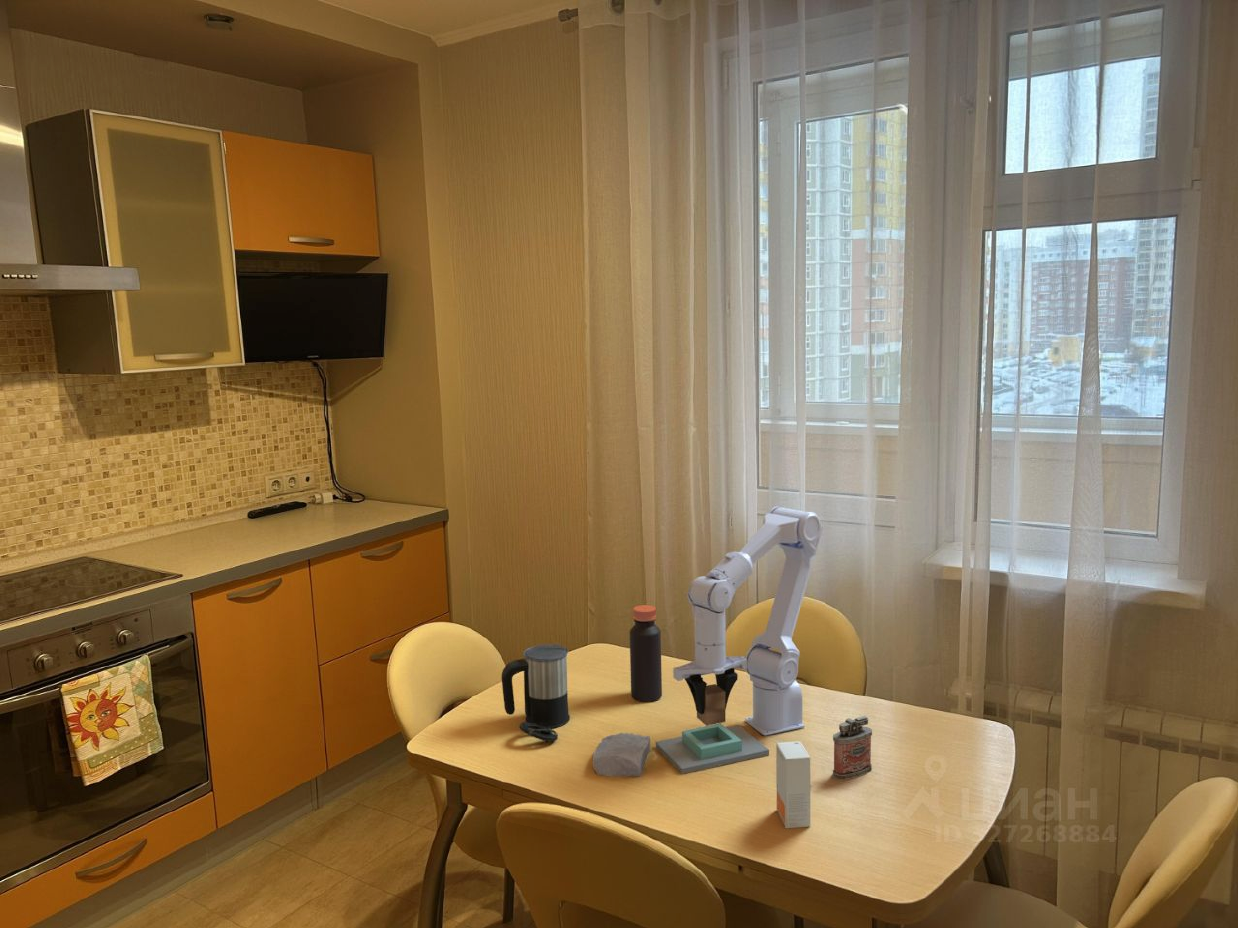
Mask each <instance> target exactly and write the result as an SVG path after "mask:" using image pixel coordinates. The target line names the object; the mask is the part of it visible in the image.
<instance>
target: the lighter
mask: <svg viewBox="0 0 1238 928" xmlns="http://www.w3.org/2000/svg"><path fill="white" fill-rule="evenodd" d="M868 724H869V718H868V717H867V716H866V715H863V716H860V717H856V718H854V719H853V718H849V717H848V718H846V720H845V721H844V722H841V723H839V724H838V725H839V727H838V730H839V732H836V733H834V734H833V736H832V740H833V769H832V776H833V778H834V779H837V780H839V781H840V780H841V781H844V780H850V779H854V778H857V777H862V776H864V775H865V774H868V773H870V772H872V766H873V765H872V763H871V757H872V753H871V752H872V736H873V729H872V728H871V727H869V726H866V725H868Z"/></svg>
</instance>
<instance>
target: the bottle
mask: <svg viewBox="0 0 1238 928" xmlns="http://www.w3.org/2000/svg"><path fill="white" fill-rule="evenodd" d="M632 610H633V611H632V612H633V614H632V615H633V622H634V625H633V626H632V627H631V628H630V629H629V657H630V659H629V661H630V664H629V666H630V696H631V698H632V699H633V700H635V701H637V702H641V703H651V702H656V701H658V700H660V699H661V697H662V695H663V681H662V679H663V678H662V675H663V674H662V633H661V629H660V627H659V626H657V625H656V621H657V608H656V606H653V605H649V604H643V605H636V606H634V607H633V608H632Z"/></svg>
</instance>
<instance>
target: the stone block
mask: <svg viewBox="0 0 1238 928" xmlns="http://www.w3.org/2000/svg"><path fill="white" fill-rule="evenodd" d="M650 750H651V737H650V736H649V735H646V736H645V735H641V734H635V733H627V732H624V733H623V732H621V733H620V732H619V733H616V734H610V735H608V736H604V738H602V739H601V742H599V743H598V745H597V746H596V749H595V750H594V752H593V755H592V766H593V768H594V772H596V774H597V775H600V776H605V777H624V778H625V777H627V778H629V777H633V778H640V777H641V776H642V774H643V771H644V768H645V766H646V762H647V760H648V756H649V754H650Z"/></svg>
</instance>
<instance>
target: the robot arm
mask: <svg viewBox="0 0 1238 928" xmlns="http://www.w3.org/2000/svg"><path fill="white" fill-rule="evenodd" d="M762 523H763V524H762V526H761V527H760V528H758V530H757V531H756V533H755V534H754V535H753V536H752V537H751V538H750V540H749V541H748V542H747V543H746V544H744V546H743V547H742V548H741V549H740V551H730V552H727V553H726V554H725V555H724V558H723V559H721V561H720V562H719V563H718V564H717V565H715V566H714V567H713V568H712V569H711V570H710V571H708V573H707V574H706V575H703V576H698V577H697V578H695V579H693V580H692V582H691V583H690V586H689V588H688V592H687V593H686V597H687V599H688V603H689V604H690V605H691V613H692V614H693V615H694V660H693V661H691V662H688V663H685V664H683V665H680V666H676V667H673V668H672V670H673V671H672V672H673V674H672V675H673V678H674V680H676V681H677V682H679V681H683V679H684V680H685V683H686V684H687V686H688V689H689V690H690V693H691V695H692V699H693V702H694V705H695V711H696V713H697V712H699V713H700V714H704V709H705V701H704V698H705V690H706V686H707V685H708V683H707V682H705V681H704V678H703V677H702V676H705V675H710V674H711V675H712V674H713V675H714V676H715V684H716V685H717V686H719V687H720V688H721V689H723V690H724V691H725V711H726V709H727V705H728V701H729V697H730V694H731V692H732V689H733V687H734V685H735V684H736V682H737V681H738V677H739V675H738V673H737V672H736V671H735V670H739V669H741V670H745V672H746V673H747V674H748V676H749V681H751V682H752V716H749V717H745V718H744V721H745V722H746V723H747V724H748V725H750V726H751V727H752V728H753V729H755V730H756V731H757V732H759V733H760V734H761V735H762V736H770V735H774V734H779V733H783V732H787V731H793V730H797V729H802V728H804V727H805V724H804V723H803V692H802V688H801V686H800V683H798V681H797V680H796V679H797V677H798V674H799V659H800V656H801V653H800V649H798V647H797V646H796V645H795V643H794V642H793V639H792V638H793V635H794V633H795V632H794V631H795V628H796V626H797V625H796V624H797V621H798V618H799V614H800V609H801V606H802V604H803V600H804V596H805V594H806V593H805V592H806V589H807V585H808V582H809V579H810V575H811V572H812V569H813V568H812V567H813V564H814V560H815V557H816V555H817V552H818V551H817V550H818V549H819V548H818V547H819V544H820V540H821V536H822V535H823V534H822V533H823V530H824V527H823V525H822V521H821V519H820V517H819V515H818V514H817V513H815V512H814V511H804V510H799V509H798V510H797V509H793V508H792V509H791V508H787V507H783V506H778V505H777V506H774V507H772V508H771V509H770V510H769V511H768V513H766V514H765V515H764V516H763V521H762ZM776 545H778V546H779V548H780V549H782V551H783V553H784V555H785V561H784V564H783V567H782V572H781V575H780V578H779V583H778V585H777V590H776V593H775V596H774V600H773V603H772V607H771V610H770V614H769V617H768V620H767V625H766V629H765V631H763V633H760V634H758V635H757V636H755V637H753V640H752V642H751V643H752V644H751V645H750V647H749V648H748V650H747V652H746V654H745V656H743V655H740V656H739V655H738V656H727V654H726V653H727V651H726V648H727V647H726V637H727V636H726V609H728V608H729V607H730V606H731V604H732V600H733V597H734V595H735V594H736V590H737V589H738V588H739V587H740V586H741V585H742V584H744V582H745V581H747V579H748V578H749V577H750V576H751V575H752V574H753V571H754V570H753V567H754V564H755V563H756V562H758V561H759V560H760V559H761V558H762V557H764V556H765V555H766V554H767V553H768V552H770V550H772V549H774V547H776ZM771 648H772V649H775V650H777V651H775V650H772V649H771ZM778 651H779V652H778Z"/></svg>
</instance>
